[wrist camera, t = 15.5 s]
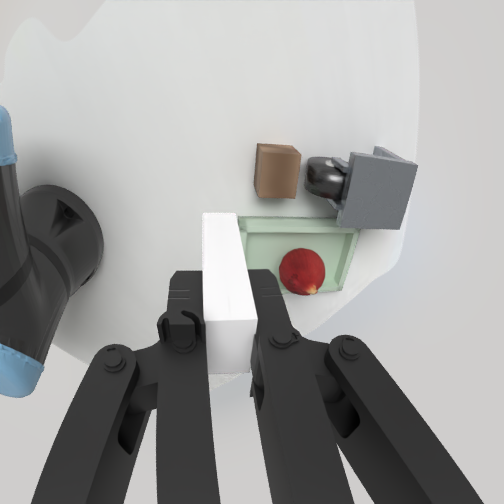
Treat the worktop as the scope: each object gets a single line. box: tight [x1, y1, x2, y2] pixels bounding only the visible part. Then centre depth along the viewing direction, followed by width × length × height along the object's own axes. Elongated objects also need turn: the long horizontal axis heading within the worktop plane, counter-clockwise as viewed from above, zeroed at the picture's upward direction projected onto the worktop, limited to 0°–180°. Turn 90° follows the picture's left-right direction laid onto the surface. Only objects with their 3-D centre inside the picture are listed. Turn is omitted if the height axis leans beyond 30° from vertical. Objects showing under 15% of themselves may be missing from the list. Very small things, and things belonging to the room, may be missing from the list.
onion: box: [279, 248, 325, 295], centre depth 37 cm, size 6×6×8 cm
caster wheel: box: [304, 146, 418, 230], centre depth 32 cm, size 11×8×8 cm
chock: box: [254, 143, 301, 199], centre depth 32 cm, size 4×5×4 cm
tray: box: [238, 216, 361, 294], centre depth 40 cm, size 16×11×2 cm
